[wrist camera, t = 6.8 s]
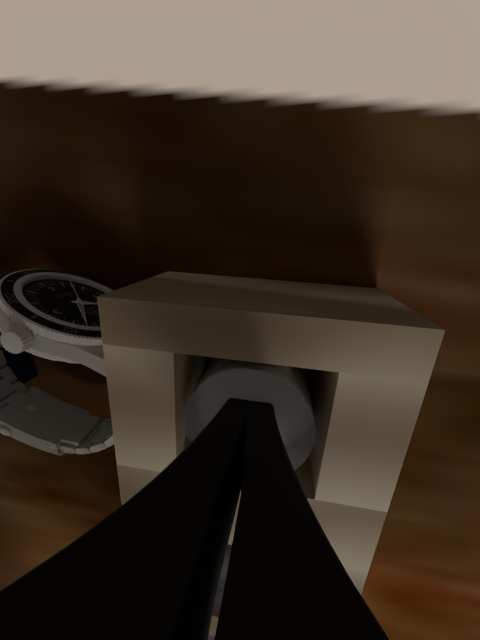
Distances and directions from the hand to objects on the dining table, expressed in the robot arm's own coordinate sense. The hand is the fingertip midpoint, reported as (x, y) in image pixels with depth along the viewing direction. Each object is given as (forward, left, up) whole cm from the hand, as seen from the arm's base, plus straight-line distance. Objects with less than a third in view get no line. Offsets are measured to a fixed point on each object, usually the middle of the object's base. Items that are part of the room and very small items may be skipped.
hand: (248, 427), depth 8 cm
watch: (+9, +13, -2) cm, 16 cm away
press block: (-3, +2, -5) cm, 6 cm away
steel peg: (0, 0, -5) cm, 5 cm away
